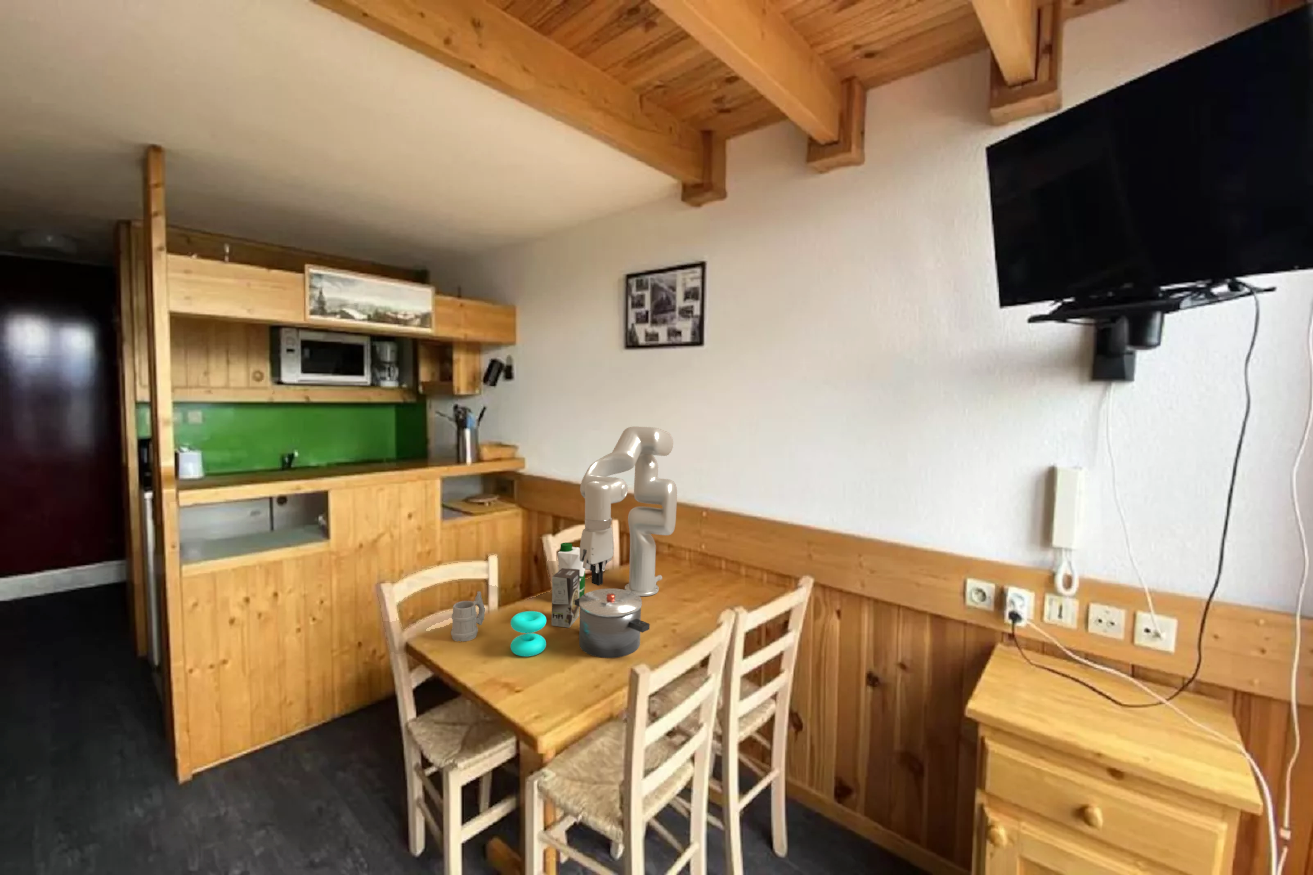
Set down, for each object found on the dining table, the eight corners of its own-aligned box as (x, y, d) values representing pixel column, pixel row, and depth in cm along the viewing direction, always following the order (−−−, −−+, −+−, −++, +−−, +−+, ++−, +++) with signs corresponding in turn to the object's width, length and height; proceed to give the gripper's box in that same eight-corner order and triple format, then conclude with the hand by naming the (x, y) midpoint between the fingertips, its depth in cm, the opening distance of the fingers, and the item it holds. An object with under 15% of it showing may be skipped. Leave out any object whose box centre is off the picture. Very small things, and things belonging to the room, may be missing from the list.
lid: (610, 587, 178) (610, 579, 178) (654, 603, 166) (654, 594, 166) (566, 604, 164) (566, 595, 164) (610, 623, 152) (611, 613, 152)
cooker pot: (599, 619, 183) (600, 583, 182) (666, 647, 165) (667, 608, 164) (555, 638, 169) (555, 599, 167) (623, 671, 151) (624, 628, 150)
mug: (445, 638, 166) (444, 599, 165) (475, 623, 177) (474, 587, 176) (463, 644, 163) (463, 605, 162) (493, 629, 173) (493, 591, 172)
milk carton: (563, 593, 203) (564, 540, 201) (587, 596, 202) (588, 542, 200) (554, 603, 195) (555, 547, 193) (579, 605, 193) (580, 549, 191)
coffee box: (570, 628, 176) (570, 578, 174) (550, 625, 177) (551, 576, 175) (579, 616, 185) (580, 569, 183) (561, 614, 186) (561, 567, 184)
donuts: (529, 627, 153) (503, 618, 158) (529, 662, 154) (502, 652, 159) (553, 614, 162) (528, 606, 167) (553, 647, 163) (527, 638, 168)
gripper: (606, 516, 172) (606, 574, 174) (569, 526, 161) (569, 587, 163) (624, 521, 167) (623, 580, 170) (587, 531, 156) (587, 594, 158)
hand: (597, 583), depth 166 cm, fingers closed
